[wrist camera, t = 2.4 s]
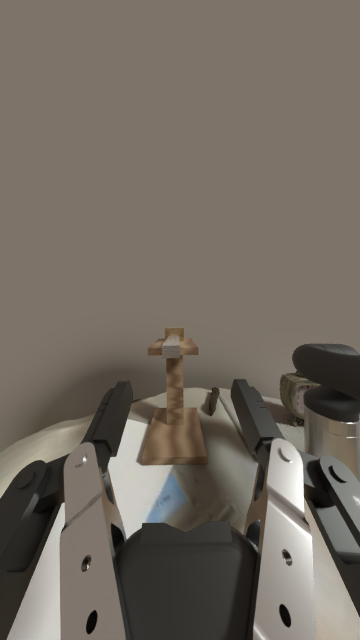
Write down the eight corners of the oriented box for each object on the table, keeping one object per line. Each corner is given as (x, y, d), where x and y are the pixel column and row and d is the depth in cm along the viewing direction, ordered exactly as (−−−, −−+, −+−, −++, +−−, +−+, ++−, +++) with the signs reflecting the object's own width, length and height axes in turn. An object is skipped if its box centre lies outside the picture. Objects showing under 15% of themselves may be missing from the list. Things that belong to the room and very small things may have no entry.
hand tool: (212, 393, 76) (211, 385, 76) (219, 395, 75) (219, 386, 75) (204, 415, 59) (204, 404, 59) (214, 417, 57) (213, 406, 57)
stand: (196, 412, 60) (195, 338, 61) (207, 463, 38) (205, 347, 39) (155, 413, 60) (154, 338, 61) (141, 465, 38) (140, 348, 39)
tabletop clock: (291, 428, 50) (290, 359, 51) (278, 412, 59) (276, 353, 60) (337, 432, 48) (335, 360, 49) (316, 415, 57) (314, 354, 58)
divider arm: (183, 338, 60) (182, 327, 60) (188, 357, 28) (188, 332, 28) (166, 338, 60) (166, 327, 60) (153, 358, 28) (153, 333, 28)
